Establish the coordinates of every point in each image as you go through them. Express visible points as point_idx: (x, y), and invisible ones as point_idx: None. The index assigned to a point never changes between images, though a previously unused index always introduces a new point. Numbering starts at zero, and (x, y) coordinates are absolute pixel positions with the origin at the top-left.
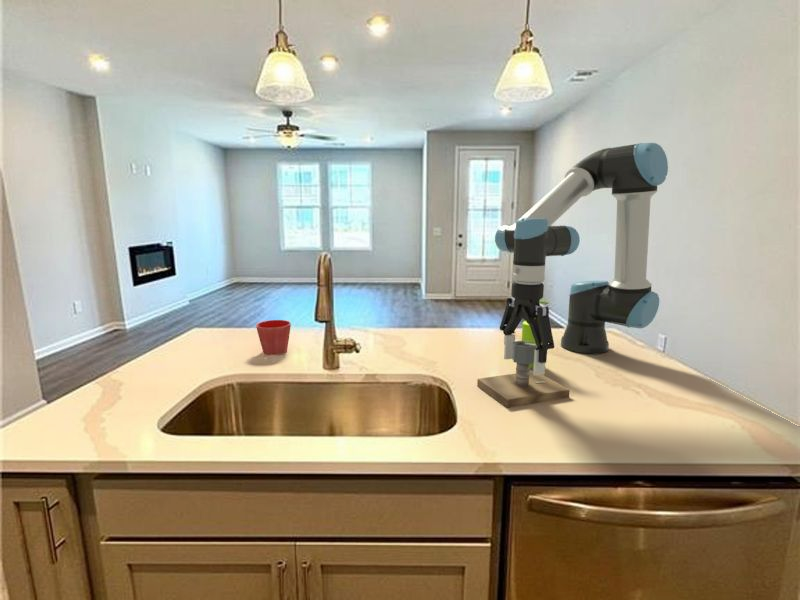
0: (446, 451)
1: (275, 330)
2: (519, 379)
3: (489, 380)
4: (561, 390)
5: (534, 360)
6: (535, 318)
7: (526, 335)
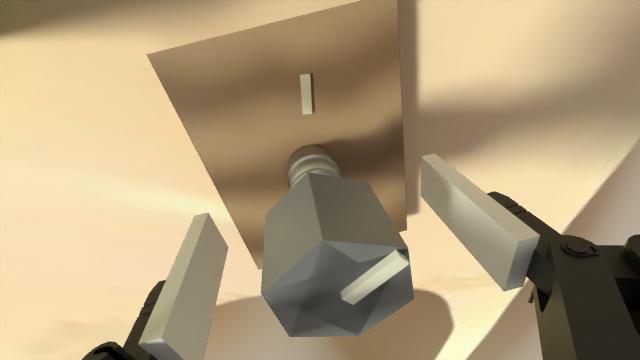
0: (488, 307)
1: None
2: None
3: None
4: (396, 40)
5: (461, 237)
6: None
7: None
